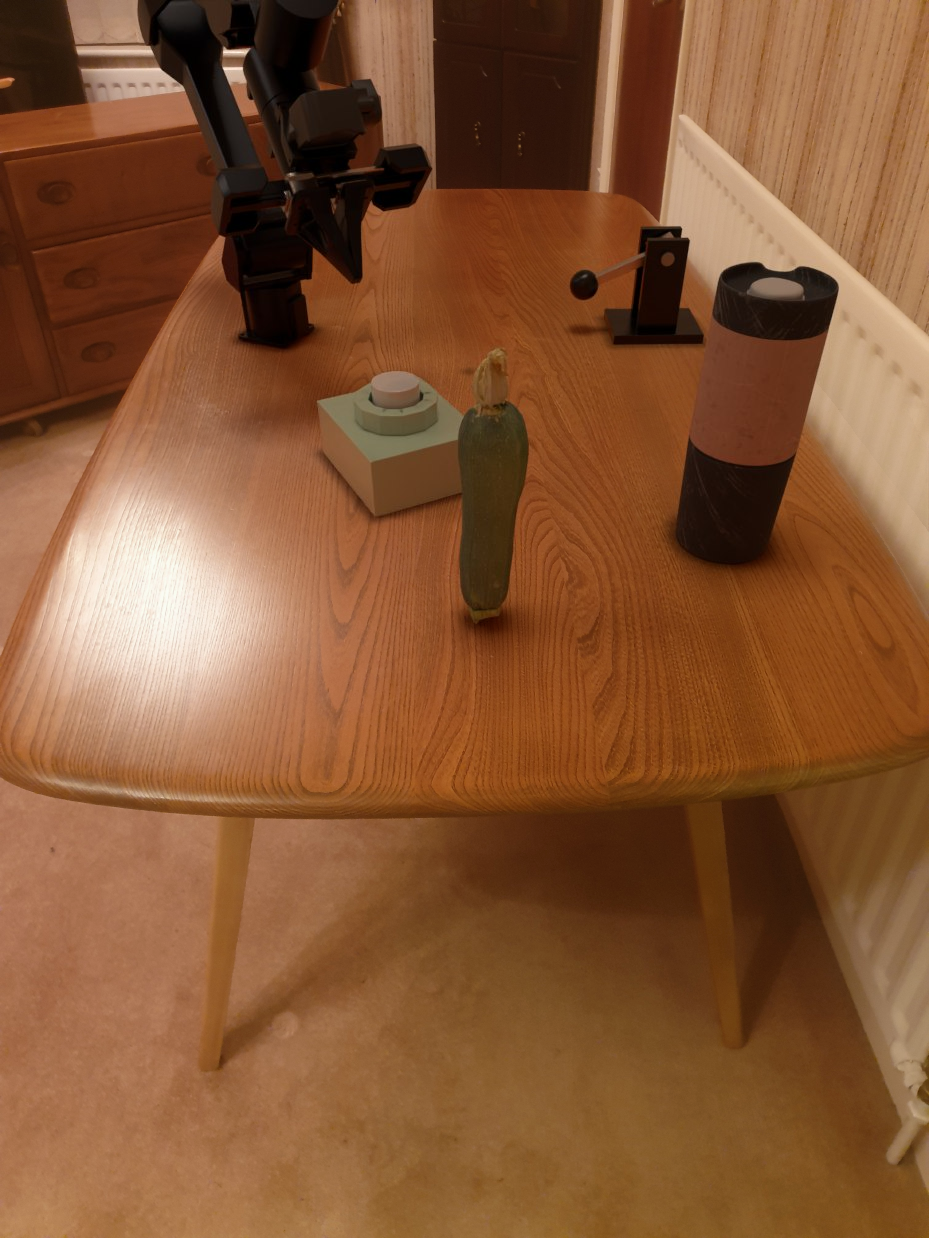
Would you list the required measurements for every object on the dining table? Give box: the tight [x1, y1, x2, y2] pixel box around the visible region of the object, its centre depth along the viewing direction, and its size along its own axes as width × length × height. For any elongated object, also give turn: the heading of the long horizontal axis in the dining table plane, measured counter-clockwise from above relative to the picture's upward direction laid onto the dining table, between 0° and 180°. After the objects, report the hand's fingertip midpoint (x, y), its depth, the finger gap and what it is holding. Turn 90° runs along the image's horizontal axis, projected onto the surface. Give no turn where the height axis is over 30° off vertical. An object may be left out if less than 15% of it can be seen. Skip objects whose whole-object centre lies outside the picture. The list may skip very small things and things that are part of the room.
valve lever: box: [569, 232, 674, 301], centre depth 95 cm, size 12×3×3 cm, turn 91°
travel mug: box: [675, 261, 840, 564], centre depth 62 cm, size 8×8×20 cm
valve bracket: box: [603, 225, 705, 346], centre depth 96 cm, size 10×8×11 cm
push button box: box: [316, 377, 464, 518], centre depth 74 cm, size 12×10×7 cm
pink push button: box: [370, 370, 420, 409], centre depth 72 cm, size 4×4×2 cm
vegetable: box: [458, 347, 530, 624], centre depth 55 cm, size 4×4×20 cm
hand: (357, 281), depth 74 cm, fingers closed
